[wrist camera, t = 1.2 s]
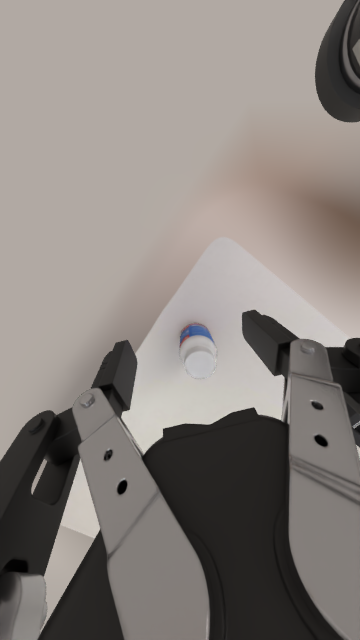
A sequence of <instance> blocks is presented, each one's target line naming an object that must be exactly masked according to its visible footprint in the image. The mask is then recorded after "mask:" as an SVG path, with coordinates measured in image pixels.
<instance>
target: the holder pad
mask: <svg viewBox="0 0 360 640" xmlns="http://www.w3.org/2000/svg"><path fill="white" fill-rule="evenodd" d="M345 403H346V407H347V411H348V415H349V419H350V423H351V427H352V426H353V425H355V424H356V423H357V422H359V421H360V415H359V414H358V413H357V412H356V411H355V410H354V409H353V408H352V407H351V406H350V405H349V404H348V403H347V402H346V401H345ZM352 431H353V435H354V439H355V443H356V445H357V446H359V447H360V425H359V426H358V427H357V428H355V429H354V428H353V427H352Z"/></svg>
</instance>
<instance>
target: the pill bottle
mask: <svg viewBox="0 0 360 640" xmlns="http://www.w3.org/2000/svg"><path fill="white" fill-rule="evenodd" d="M216 359H217V349H216V346H215V344H214V341H213V339H212V337H211V335H210V332H209V331H208V329H207V328H206V327H205V326H204V325H202V324H199V323H192V324H189V325H187V326H186V327H185V328H184V329H183V330H182V332H181V336H180V360H181V362H182V364H183V365H184V367H185V370H186V372H187V374H188V375H189V376H191V377H193V378H195V379H205V378H207V377H209V376H211V375H212V374H213V372H214V371H215V369H216Z"/></svg>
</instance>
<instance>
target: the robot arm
mask: <svg viewBox="0 0 360 640" xmlns="http://www.w3.org/2000/svg"><path fill="white" fill-rule="evenodd" d="M339 65H340V70H341V73H342V76H343V78H344V80H345V82H346V83H347V85H348V86H349V87H350V88H351V89H352V90H354V91H355V92H357V93H360V0H358V2H357V3H356V5H355V6H354V8H353V10H352V11H351V13H350V15H349V17H348V19H347V21H346V23H345V26H344V29H343V32H342V35H341V40H340V46H339ZM242 332H243V336H244V338H245V340H246V341H247V343H248V344H249V345H250V346H251V348H252V349H253V350H254V351H255V353H256V354H257V355H258V356H259V358H260V359H261V360H262V361H263V363H264V364H265V365H266V366H267V368H268V369H269V370H270V371H271V373H272V374H273V375H274V376H277V375H281V374H282V375H283V376H284V377H285V379H284V390H283V406H282V416H281V420H278V419H276V418H273V417H269V416H265V415H258V414H257V412H256V410H255V408H254V407H253V408H249V409H245V410H241V411H237V412H232V413H230V414H228V415H227V416H225V417H223V418H221V419H220V420H218V421H216V422H214V423H213V424H210V425H203V424H182V425H177V426H173V427H169V428H165V429H163V437H162V438H161V439H159V440H158V441H157V442H155V443H154V444H153V445H152V446H151V447H150V448H149V449H148V450H147V451H146V453H145V454H144V453H143V451H142V450H141V448H140V447H139V445H138V444H137V442H136V441H135V439H134V437H133V436H132V434H131V433H130V431H129V429H128V428H127V426H126V425H125V423H124V421H123V420H122V418H121V415H122V412H123V411H127V410H130V405H131V399H132V393H133V387H134V381H135V375H136V370H137V358H136V356H135V353H134V351H133V349H132V347H131V345H130V343H129V341H128V340H125V341H121V342H117V343H116V344H115V346H114V348H113V351H111V352H109V353H108V354H107V355H106V357H105V358H104V360H103V362H102V365H101V367H100V370H99V371H98V374H97V376H96V378H95V380H94V382H93V384H92V387H91V389H89V390H87V391H86V392H84V393H83V394H81V396H79V397H78V398H77V400H76V401H75V403H74V404H73V407H72V408H70V409H68V410H66V411H64V412H62V413H60V414H58V415H56V414H54V412H53V411H50V410H49V411H44V412H41V413H39V414H38V415H36V416H35V417H33V418H32V419H31V420H30V421H28V422H27V423H26V425H25V426H24V427H23V428H22V430H21V431H20V432H19V434H18V435H17V437H16V439H15V440H14V442H13V443H12V445H11V446H10V448H9V449H8V451H7V452H6V454H5V455H4V457H3V458H2V460H1V461H0V640H360V460H359V456H358V452H357V448H356V443H355V439H354V435H353V431H352V427H351V423H350V419H349V415H348V411H347V407H346V403H345V401H346V402H347V403H348V404H349V405H350V406H351V407H352V408H353V409H354V410H355V411H356V412H357V413H358V414H359V415H360V338H352V339H349V340H347V341H346V343H345V345H344V347H324V346H323V345H322V344H320V343H318V342H316V341H313V340H309V339H299V338H298V337H297V336H296V335H294V334H293V333H292V332H290V331H289V330H288V329H286V328H285V327H283V326H282V325H281V324H280V323H278V322H277V321H276V320H274V319H273V318H271V317H269V316H266V315H261V314H260V313H258V312H257V311H256V310H251V311H247V312H243V313H242ZM80 458H81V461H82V465H83V468H84V472H85V475H86V479H87V483H88V486H89V490H90V493H91V497H92V500H93V504H94V507H95V511H96V514H97V518H98V521H99V525H100V531H99V533H98V534H97V536H96V538H95V540H94V542H93V543H92V545H91V547H90V548H89V550H88V552H87V554H86V555H85V557H84V559H83V561H82V562H81V564H80V566H79V567H78V569H77V571H76V573H75V574H74V576H73V578H72V580H71V581H70V583H69V585H68V586H67V588H66V590H65V592H64V593H63V595H62V597H61V599H60V600H59V602H58V604H57V606H56V607H55V609H54V611H53V613H52V614H51V616H50V618H49V620H48V621H47V623H46V625H45V626H44V628H43V630H42V632H41V634H40V630H41V628H42V626H43V624H44V621H45V618H46V614H47V602H46V601H45V599H46V583H45V580H44V574H45V571H46V568H47V565H48V561H49V558H50V554H51V552H52V549H53V545H54V542H55V539H56V535H57V532H58V529H59V526H60V523H61V519H62V516H63V513H64V510H65V506H66V503H67V500H68V497H69V493H70V490H71V487H72V484H73V481H74V477H75V474H76V471H77V468H78V464H79V461H80ZM43 459H45V460H47V464H46V466H45V468H44V470H43V473H42V475H41V477H40V479H39V481H38V484H37V486H36V488H35V490H34V492H33V495H32V494H31V487H32V483H33V481H34V479H35V476H36V474H37V472H38V470H39V468H40V466H41V464H42V462H43Z"/></svg>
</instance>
